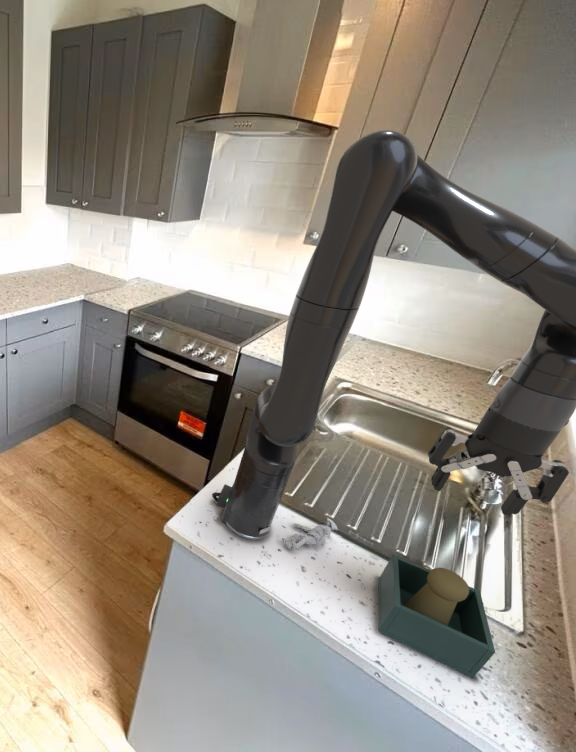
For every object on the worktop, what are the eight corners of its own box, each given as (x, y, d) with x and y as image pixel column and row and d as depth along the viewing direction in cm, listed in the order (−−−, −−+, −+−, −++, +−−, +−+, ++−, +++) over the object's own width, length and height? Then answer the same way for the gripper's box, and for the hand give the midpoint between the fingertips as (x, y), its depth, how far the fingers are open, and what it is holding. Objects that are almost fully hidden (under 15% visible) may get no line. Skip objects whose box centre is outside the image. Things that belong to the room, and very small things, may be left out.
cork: (414, 633, 72) (444, 590, 67) (395, 600, 78) (421, 558, 73) (453, 640, 72) (486, 597, 67) (431, 606, 77) (460, 564, 72)
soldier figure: (272, 537, 92) (309, 507, 95) (285, 558, 91) (322, 527, 95) (297, 541, 84) (336, 508, 88) (312, 564, 84) (351, 529, 87)
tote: (378, 631, 73) (395, 605, 70) (378, 579, 83) (392, 554, 80) (472, 678, 67) (495, 652, 64) (460, 616, 77) (480, 590, 74)
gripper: (587, 421, 60) (523, 507, 67) (459, 387, 67) (413, 468, 74) (608, 446, 55) (535, 536, 62) (466, 407, 61) (416, 492, 69)
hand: (469, 499), depth 68 cm, fingers open, 8 cm apart
